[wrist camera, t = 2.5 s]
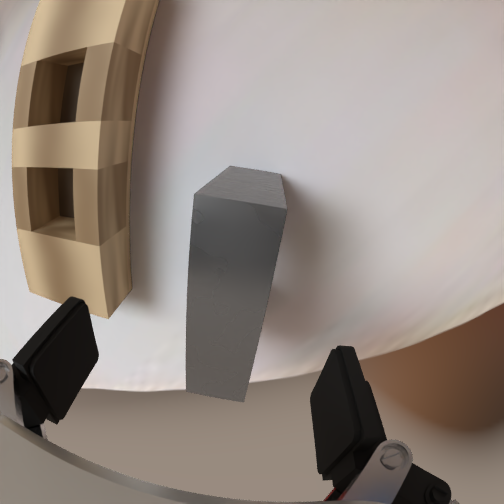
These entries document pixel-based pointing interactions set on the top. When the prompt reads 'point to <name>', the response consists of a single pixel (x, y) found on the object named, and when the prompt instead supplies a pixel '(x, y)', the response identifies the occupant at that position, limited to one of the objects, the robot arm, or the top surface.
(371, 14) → the top surface
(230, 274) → the gray pronged block
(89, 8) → the wooden block with holes
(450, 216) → the top surface
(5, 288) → the top surface
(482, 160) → the top surface
